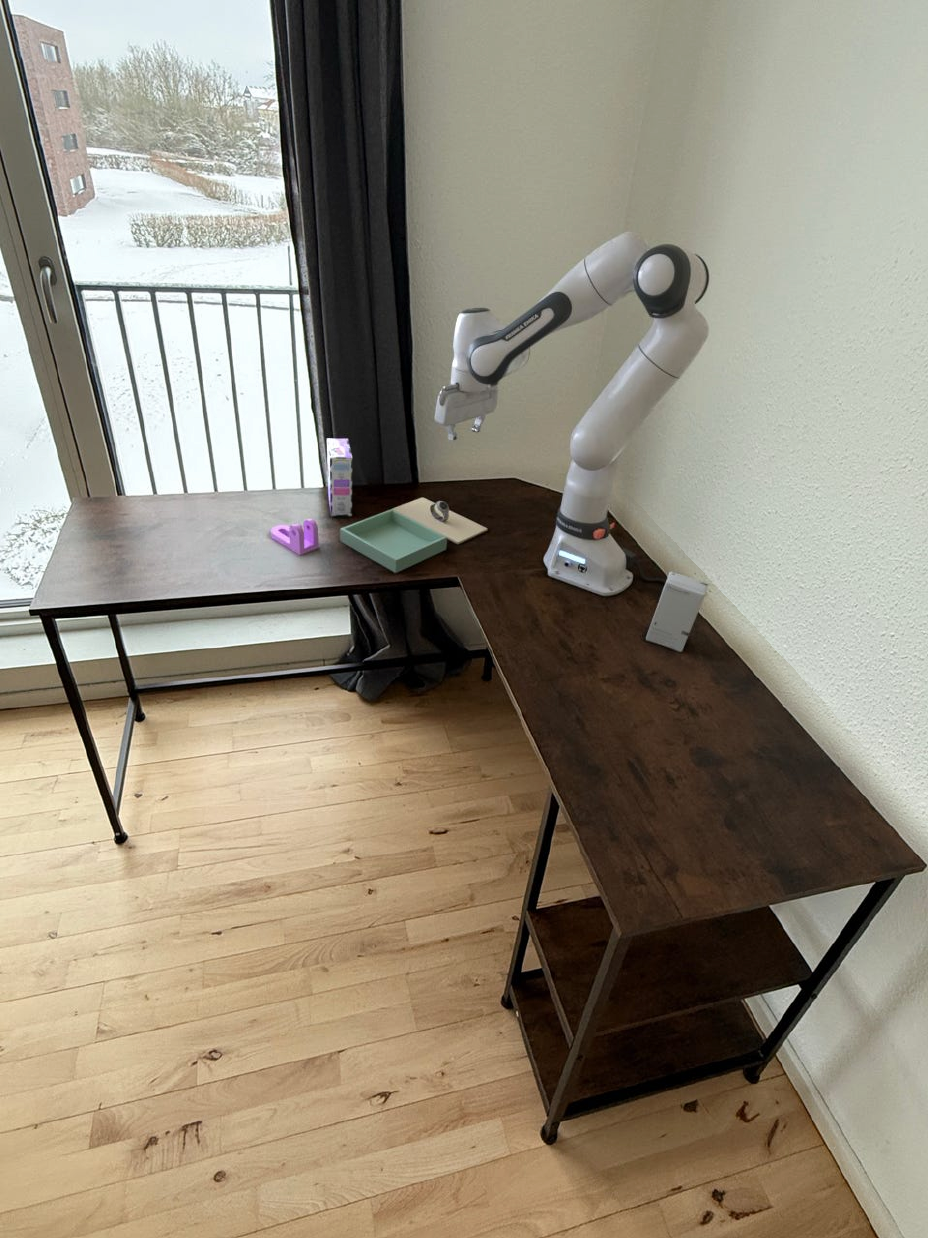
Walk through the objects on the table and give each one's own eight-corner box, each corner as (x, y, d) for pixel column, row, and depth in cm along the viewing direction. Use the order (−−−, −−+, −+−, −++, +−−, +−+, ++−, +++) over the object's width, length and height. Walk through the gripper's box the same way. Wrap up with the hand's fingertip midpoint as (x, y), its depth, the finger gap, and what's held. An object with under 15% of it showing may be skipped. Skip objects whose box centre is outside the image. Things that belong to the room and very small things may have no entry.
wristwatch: (441, 524, 177) (443, 507, 174) (426, 515, 180) (428, 498, 177) (451, 521, 179) (453, 504, 176) (436, 512, 182) (437, 495, 179)
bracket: (318, 547, 162) (317, 521, 158) (300, 555, 158) (298, 528, 154) (285, 527, 168) (283, 502, 164) (266, 534, 165) (264, 508, 161)
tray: (446, 549, 167) (447, 537, 165) (395, 573, 156) (396, 560, 154) (391, 520, 177) (392, 508, 175) (340, 541, 166) (340, 528, 164)
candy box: (352, 516, 177) (353, 457, 167) (330, 517, 175) (329, 457, 166) (348, 494, 187) (348, 437, 178) (327, 494, 186) (326, 437, 177)
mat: (487, 530, 178) (487, 528, 178) (457, 544, 170) (458, 542, 170) (422, 498, 190) (422, 497, 189) (391, 510, 182) (392, 508, 182)
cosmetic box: (644, 640, 143) (663, 582, 135) (650, 626, 148) (668, 569, 140) (683, 653, 141) (705, 594, 133) (688, 638, 146) (709, 581, 137)
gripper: (450, 390, 153) (446, 448, 161) (504, 376, 167) (498, 430, 175) (430, 383, 156) (427, 440, 164) (484, 370, 170) (479, 424, 178)
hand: (464, 435), depth 170 cm, fingers open, 8 cm apart
